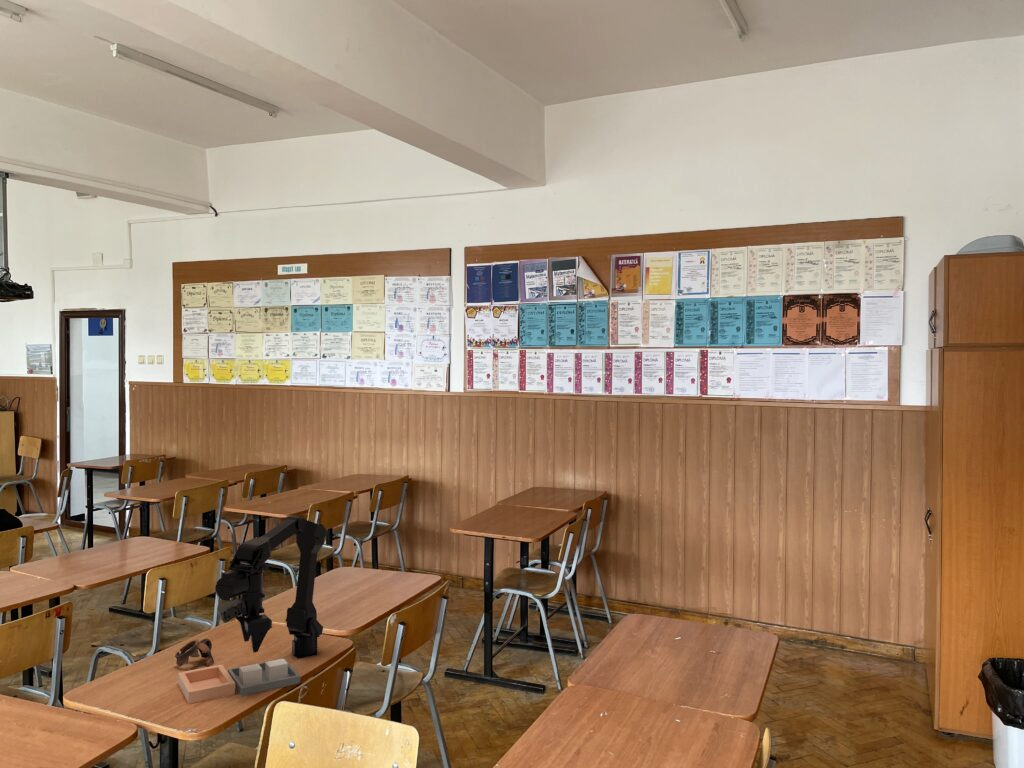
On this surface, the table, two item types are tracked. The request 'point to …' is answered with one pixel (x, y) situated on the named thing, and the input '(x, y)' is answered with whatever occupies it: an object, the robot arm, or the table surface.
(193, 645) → the brown curved piece
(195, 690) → the terracotta dish
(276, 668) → the off-white rectangular prism
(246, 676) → the cream rectangular block
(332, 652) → the table surface
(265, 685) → the parts tray
